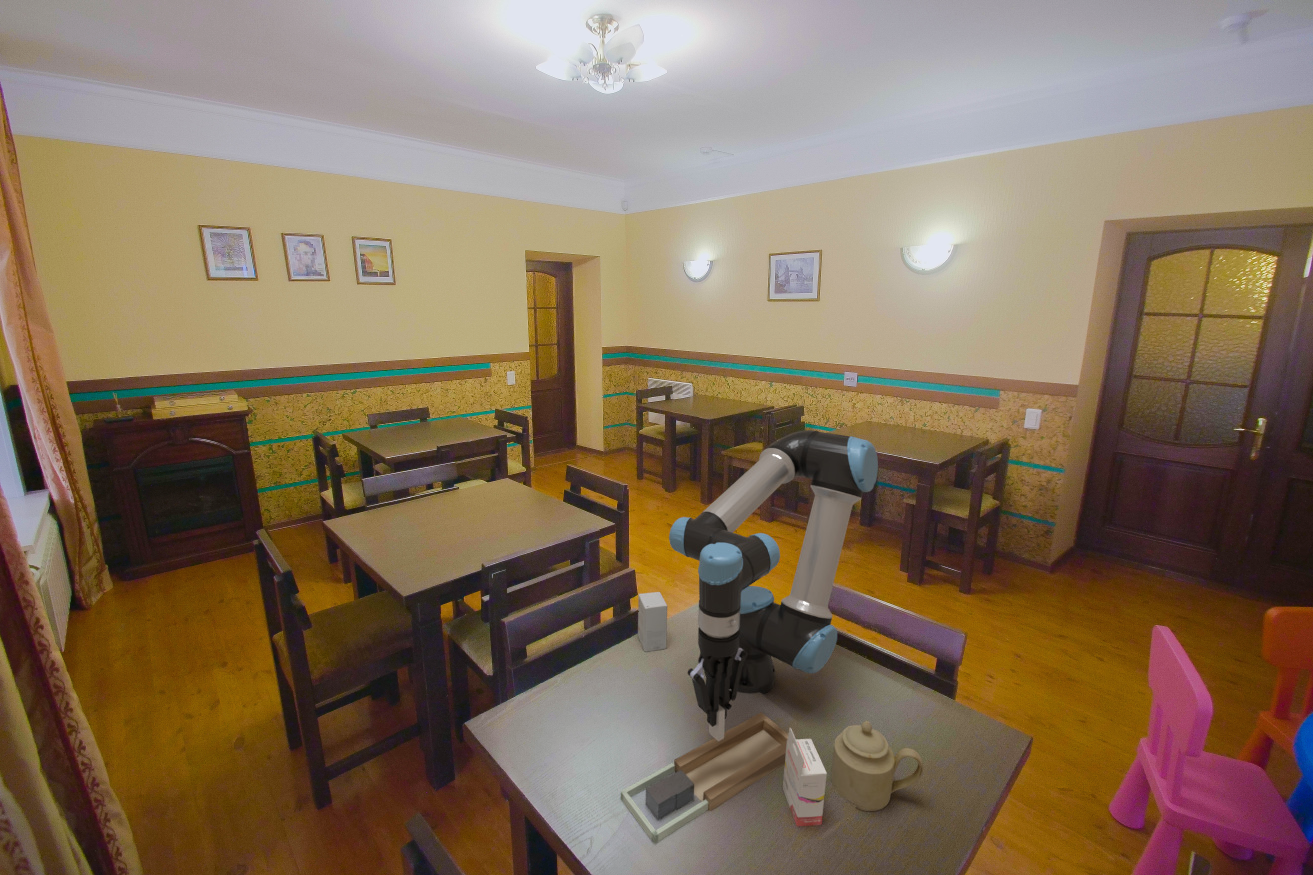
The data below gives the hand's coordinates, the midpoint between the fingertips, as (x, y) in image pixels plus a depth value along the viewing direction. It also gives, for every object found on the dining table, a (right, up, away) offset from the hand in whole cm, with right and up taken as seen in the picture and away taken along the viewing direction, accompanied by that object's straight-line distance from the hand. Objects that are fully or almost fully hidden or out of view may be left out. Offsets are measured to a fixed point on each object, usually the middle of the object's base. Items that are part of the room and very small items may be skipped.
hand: (716, 735), depth 108 cm
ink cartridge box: (+15, -12, -4) cm, 20 cm away
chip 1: (-11, -11, -5) cm, 16 cm away
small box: (-13, +1, +47) cm, 49 cm away
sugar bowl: (+30, -11, +1) cm, 32 cm away
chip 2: (-7, -10, -3) cm, 13 cm away
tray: (-10, -11, -4) cm, 16 cm away
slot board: (+5, -9, +5) cm, 12 cm away
